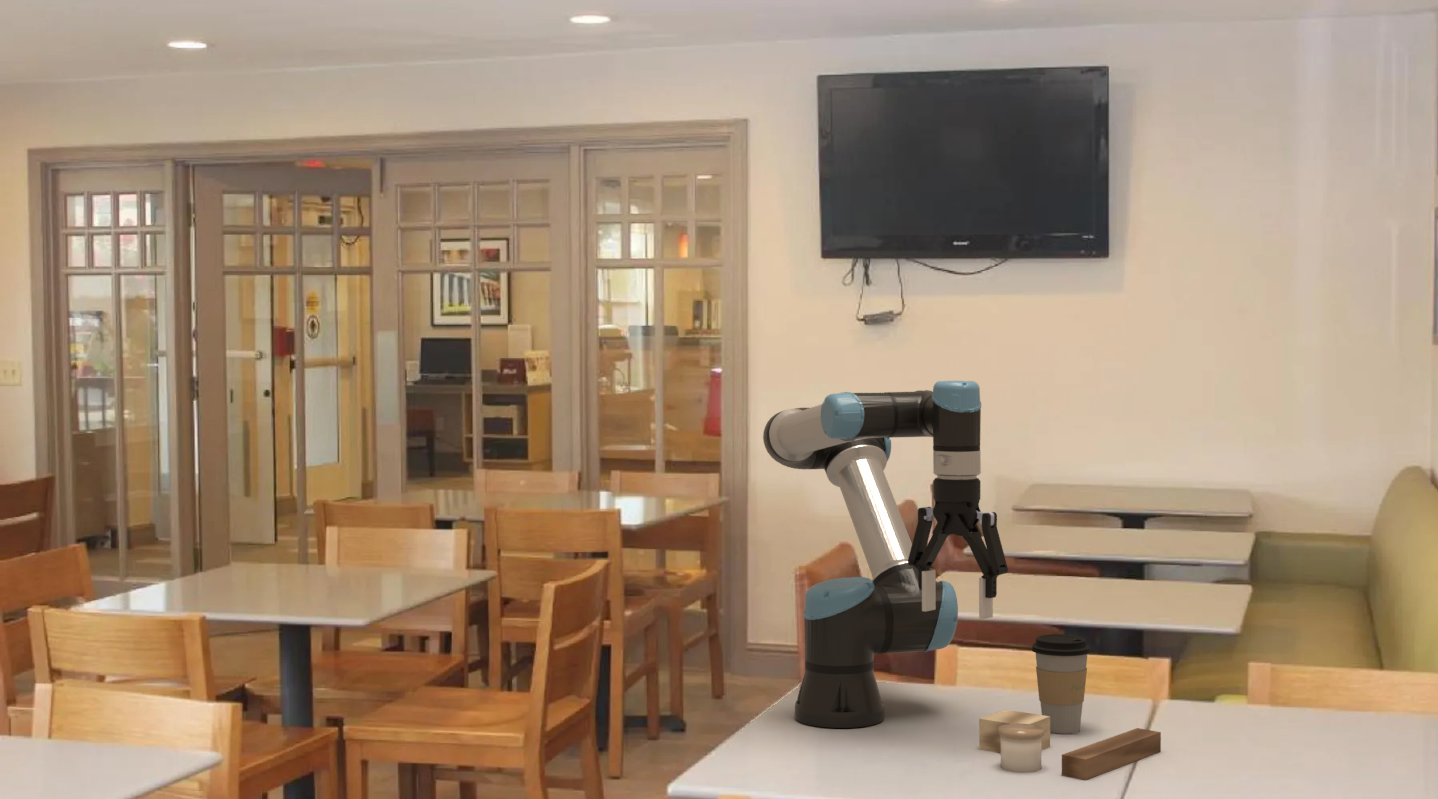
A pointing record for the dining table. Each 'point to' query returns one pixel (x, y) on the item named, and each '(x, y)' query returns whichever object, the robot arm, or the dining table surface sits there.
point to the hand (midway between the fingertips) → (956, 614)
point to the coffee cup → (1061, 679)
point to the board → (1110, 753)
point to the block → (991, 723)
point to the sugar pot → (1021, 747)
